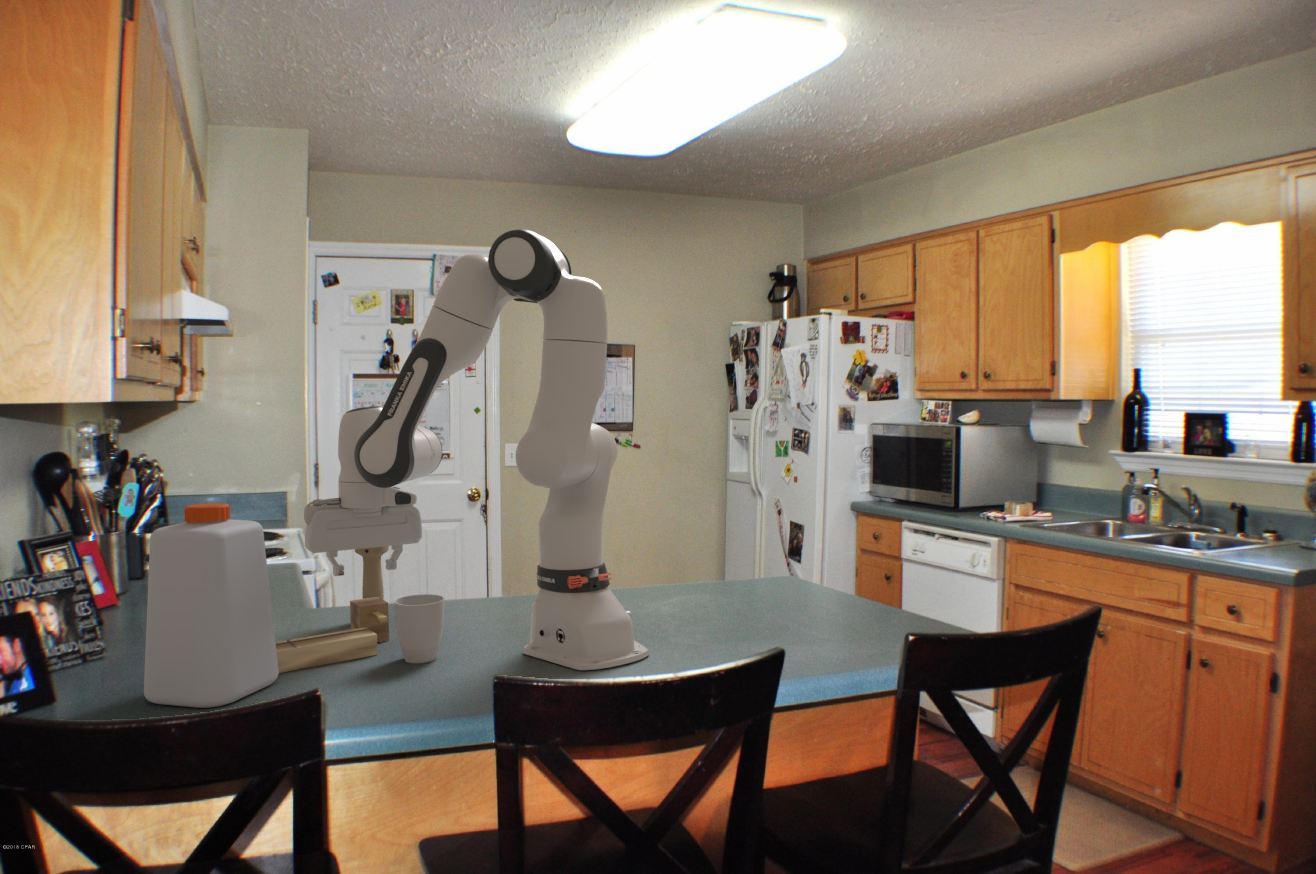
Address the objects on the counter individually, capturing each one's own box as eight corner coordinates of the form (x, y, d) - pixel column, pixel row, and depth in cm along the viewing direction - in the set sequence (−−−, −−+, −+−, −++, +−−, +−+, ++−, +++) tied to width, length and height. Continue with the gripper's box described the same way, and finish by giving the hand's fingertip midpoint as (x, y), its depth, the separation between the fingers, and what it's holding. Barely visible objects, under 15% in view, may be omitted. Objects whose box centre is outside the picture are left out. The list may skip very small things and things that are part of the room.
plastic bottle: (291, 678, 133) (285, 500, 132) (218, 713, 118) (210, 512, 117) (210, 672, 137) (203, 498, 136) (129, 704, 122) (122, 510, 121)
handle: (384, 623, 166) (382, 547, 165) (352, 623, 166) (350, 547, 166) (394, 617, 171) (392, 542, 170) (363, 617, 171) (361, 543, 171)
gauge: (398, 647, 150) (397, 607, 149) (370, 652, 147) (369, 612, 146) (378, 634, 159) (377, 596, 158) (351, 638, 156) (349, 600, 155)
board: (377, 654, 145) (377, 633, 145) (277, 673, 136) (276, 651, 135) (366, 646, 150) (366, 626, 150) (268, 664, 140) (268, 642, 140)
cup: (427, 649, 148) (425, 592, 148) (456, 657, 143) (454, 598, 142) (385, 660, 142) (384, 600, 141) (414, 669, 137) (413, 607, 136)
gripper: (308, 502, 145) (309, 582, 146) (425, 494, 157) (425, 568, 158) (299, 498, 150) (300, 576, 151) (412, 491, 162) (413, 563, 163)
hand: (365, 572), depth 154 cm, fingers open, 8 cm apart
